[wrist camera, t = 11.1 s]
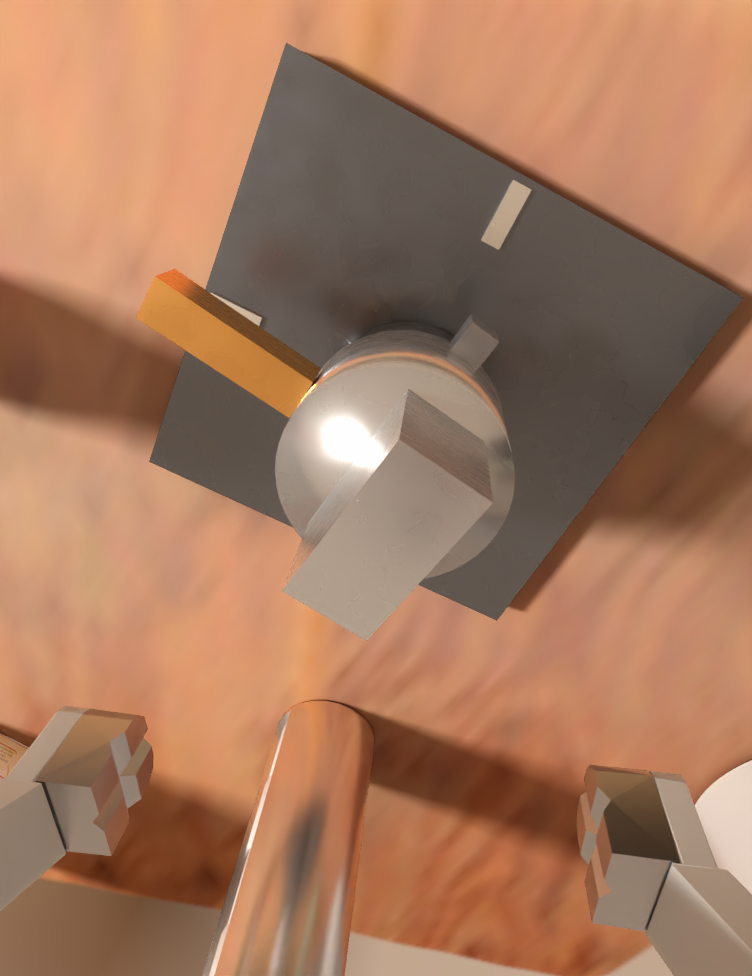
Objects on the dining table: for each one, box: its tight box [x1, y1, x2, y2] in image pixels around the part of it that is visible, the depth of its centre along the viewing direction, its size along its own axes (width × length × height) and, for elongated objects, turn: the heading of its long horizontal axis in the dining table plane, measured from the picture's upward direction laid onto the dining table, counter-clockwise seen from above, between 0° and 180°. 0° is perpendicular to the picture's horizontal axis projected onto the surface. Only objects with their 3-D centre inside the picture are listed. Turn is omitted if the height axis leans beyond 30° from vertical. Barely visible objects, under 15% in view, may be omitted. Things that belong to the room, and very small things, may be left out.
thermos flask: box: [202, 701, 374, 976], centre depth 30 cm, size 6×6×25 cm
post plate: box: [149, 43, 743, 620], centre depth 27 cm, size 20×19×5 cm
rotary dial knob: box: [136, 269, 515, 641], centre depth 20 cm, size 14×10×9 cm
